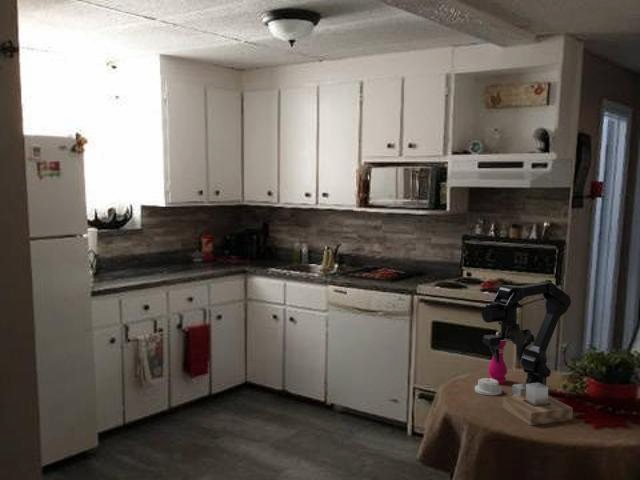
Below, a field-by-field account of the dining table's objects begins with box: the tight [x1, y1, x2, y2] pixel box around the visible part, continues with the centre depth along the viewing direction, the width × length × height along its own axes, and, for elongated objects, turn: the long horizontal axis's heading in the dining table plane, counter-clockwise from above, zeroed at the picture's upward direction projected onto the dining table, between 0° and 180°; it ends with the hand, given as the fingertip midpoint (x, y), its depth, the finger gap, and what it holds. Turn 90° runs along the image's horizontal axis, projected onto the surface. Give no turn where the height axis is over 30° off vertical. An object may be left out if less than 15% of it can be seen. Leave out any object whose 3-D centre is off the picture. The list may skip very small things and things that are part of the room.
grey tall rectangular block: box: [525, 382, 549, 407], centre depth 205 cm, size 5×5×10 cm
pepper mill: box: [487, 331, 508, 385], centre depth 240 cm, size 7×7×20 cm
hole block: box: [502, 395, 574, 426], centre depth 205 cm, size 16×16×4 cm
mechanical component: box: [474, 377, 503, 396], centre depth 229 cm, size 10×4×10 cm
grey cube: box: [511, 383, 526, 396], centre depth 220 cm, size 5×5×5 cm
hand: (508, 361), depth 223 cm, fingers open, 9 cm apart
